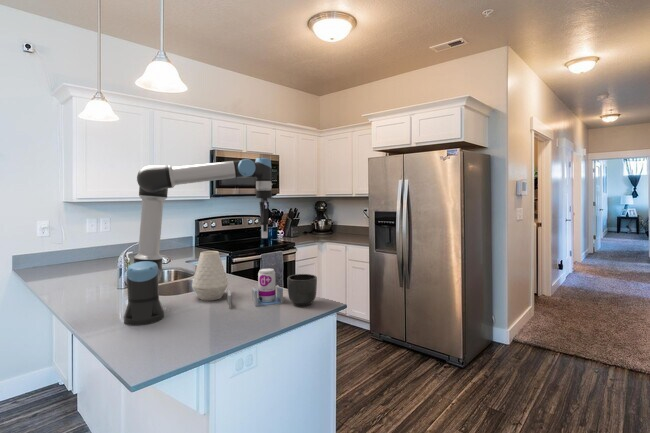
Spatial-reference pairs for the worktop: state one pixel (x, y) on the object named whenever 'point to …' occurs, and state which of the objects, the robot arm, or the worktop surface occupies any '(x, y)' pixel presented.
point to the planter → (302, 289)
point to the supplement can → (266, 285)
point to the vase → (210, 277)
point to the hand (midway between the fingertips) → (264, 237)
